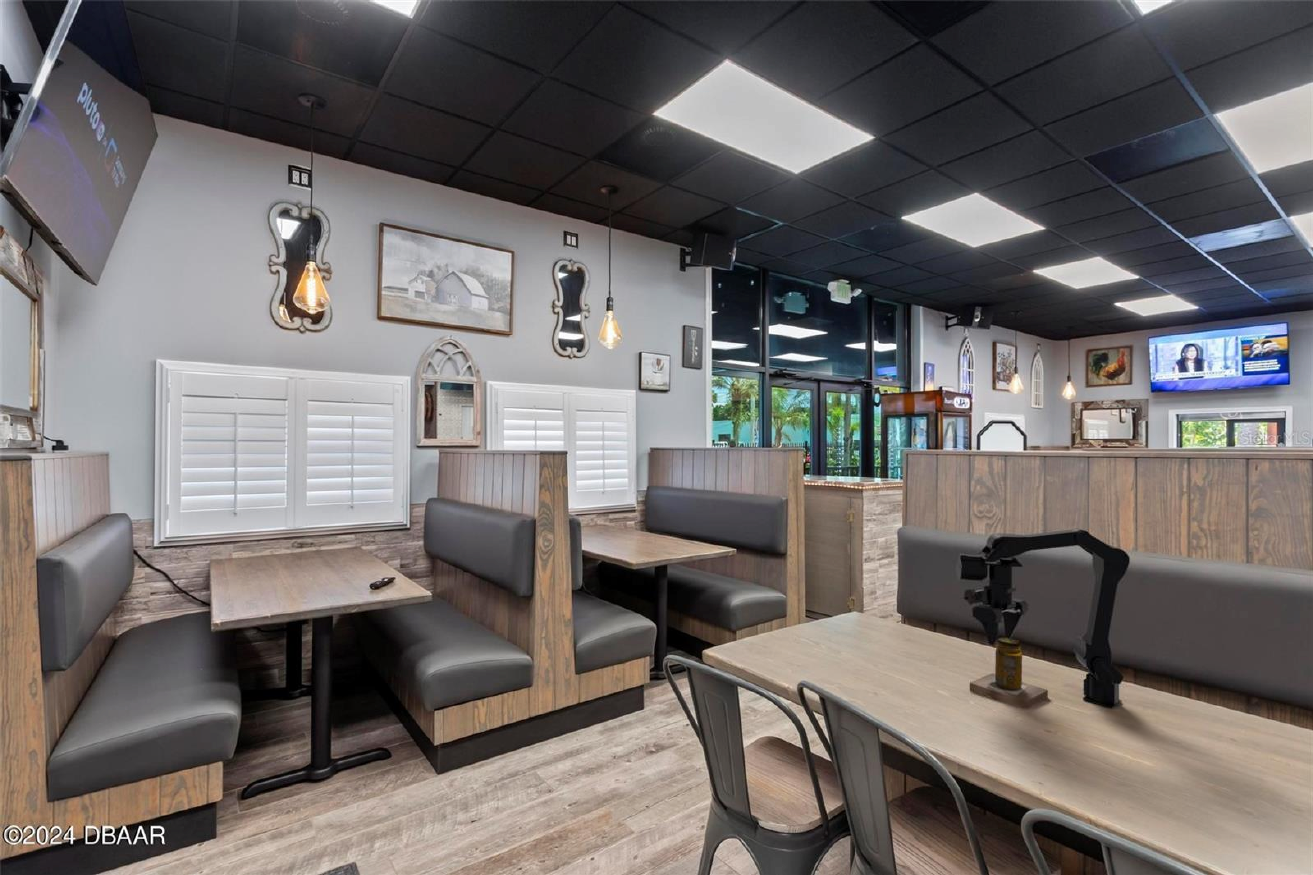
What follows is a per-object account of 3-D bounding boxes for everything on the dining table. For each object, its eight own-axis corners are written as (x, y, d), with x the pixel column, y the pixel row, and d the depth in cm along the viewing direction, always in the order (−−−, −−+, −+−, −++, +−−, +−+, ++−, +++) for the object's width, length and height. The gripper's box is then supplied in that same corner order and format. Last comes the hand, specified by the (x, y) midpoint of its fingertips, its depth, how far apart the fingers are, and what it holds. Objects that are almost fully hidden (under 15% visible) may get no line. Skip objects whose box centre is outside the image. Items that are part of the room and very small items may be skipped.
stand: (1047, 697, 159) (1047, 689, 159) (1026, 709, 152) (1026, 701, 152) (992, 680, 171) (992, 673, 171) (969, 690, 164) (969, 682, 164)
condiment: (1027, 686, 161) (1027, 640, 161) (1017, 695, 155) (1017, 648, 156) (996, 678, 167) (997, 634, 167) (985, 687, 161) (986, 641, 161)
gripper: (986, 572, 175) (986, 627, 175) (952, 580, 164) (951, 639, 164) (1029, 580, 166) (1028, 638, 166) (995, 589, 155) (994, 651, 155)
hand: (999, 641), depth 163 cm, fingers open, 9 cm apart
